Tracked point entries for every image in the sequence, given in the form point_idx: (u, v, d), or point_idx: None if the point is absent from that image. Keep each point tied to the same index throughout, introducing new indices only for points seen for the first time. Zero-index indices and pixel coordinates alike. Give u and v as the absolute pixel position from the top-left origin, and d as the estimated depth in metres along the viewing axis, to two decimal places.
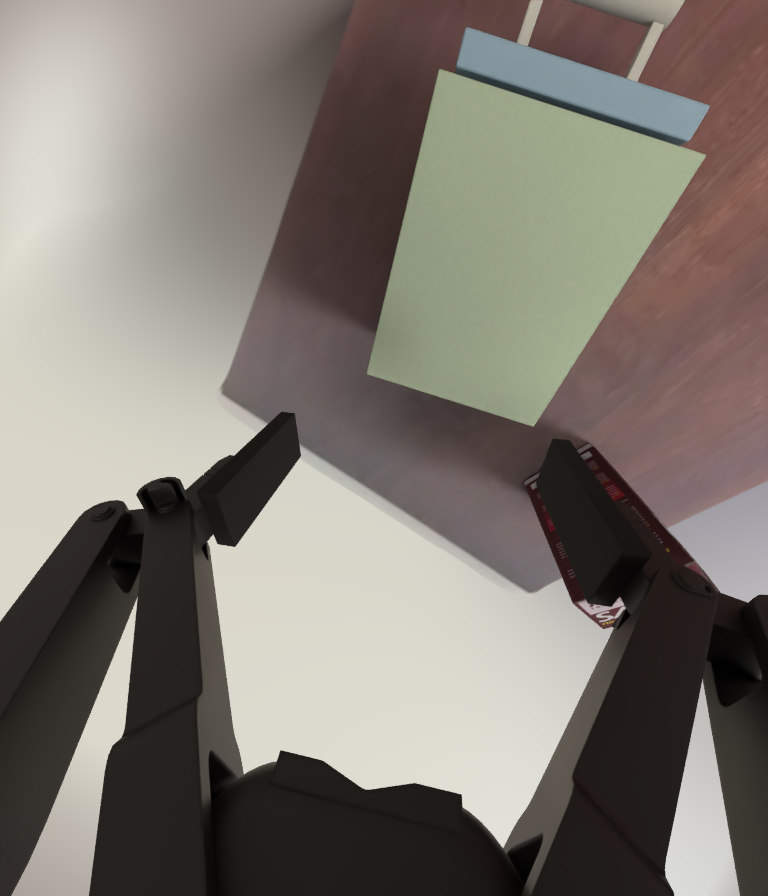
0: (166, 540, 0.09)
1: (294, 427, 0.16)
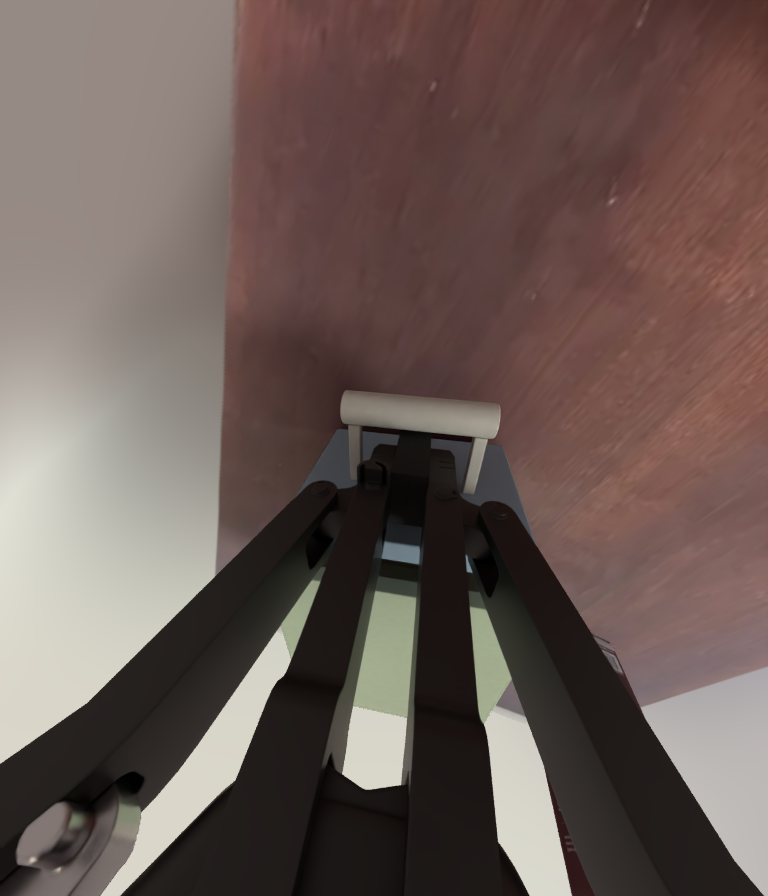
0: (362, 516, 0.10)
1: None
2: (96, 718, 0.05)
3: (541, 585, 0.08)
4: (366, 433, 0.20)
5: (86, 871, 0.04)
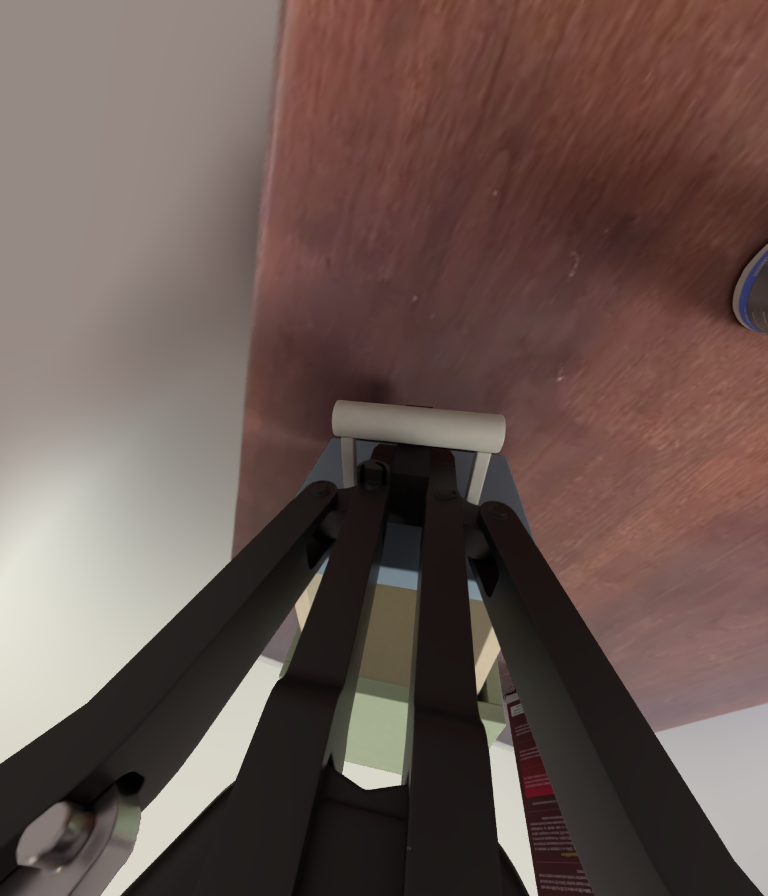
0: (362, 516, 0.10)
1: None
2: (96, 718, 0.05)
3: (541, 585, 0.08)
4: (362, 442, 0.19)
5: (86, 871, 0.04)
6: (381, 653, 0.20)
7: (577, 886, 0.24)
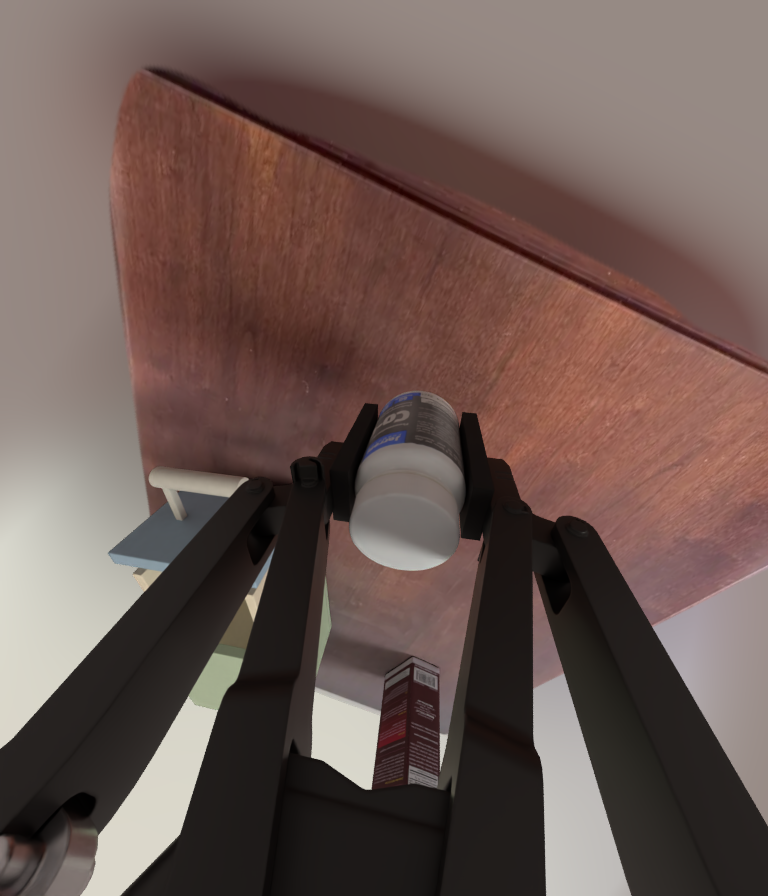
0: (301, 513, 0.10)
1: (376, 417, 0.17)
2: (27, 749, 0.05)
3: (621, 611, 0.07)
4: None
5: None
6: (230, 626, 0.29)
7: None
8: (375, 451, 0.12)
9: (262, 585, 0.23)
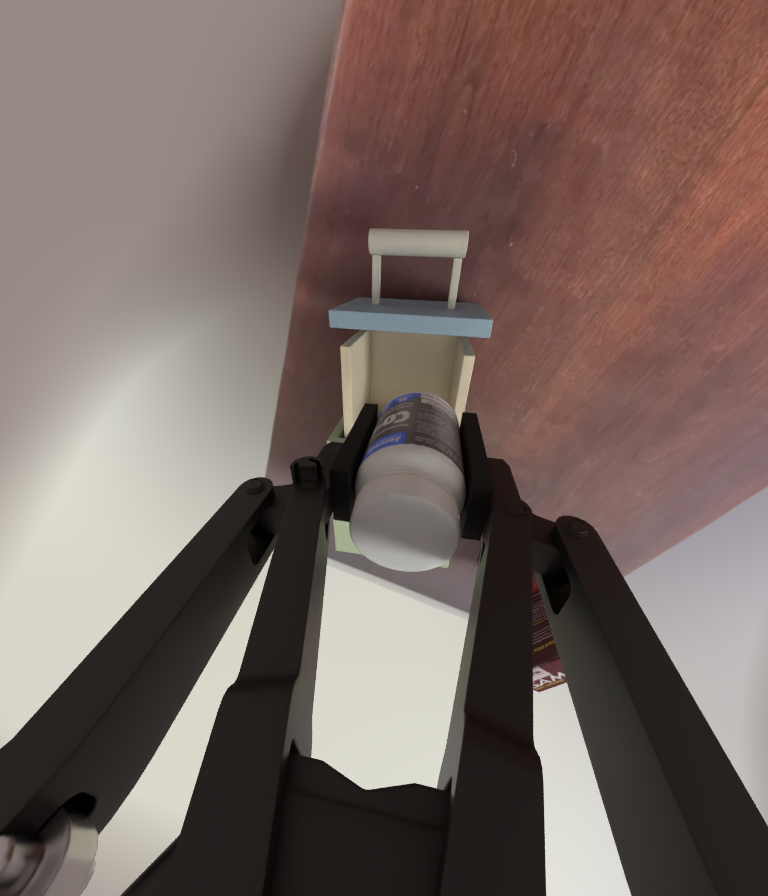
0: (301, 513, 0.10)
1: (376, 417, 0.17)
2: (27, 750, 0.05)
3: (622, 611, 0.07)
4: (380, 298, 0.28)
5: None
6: None
7: None
8: (375, 452, 0.12)
9: None
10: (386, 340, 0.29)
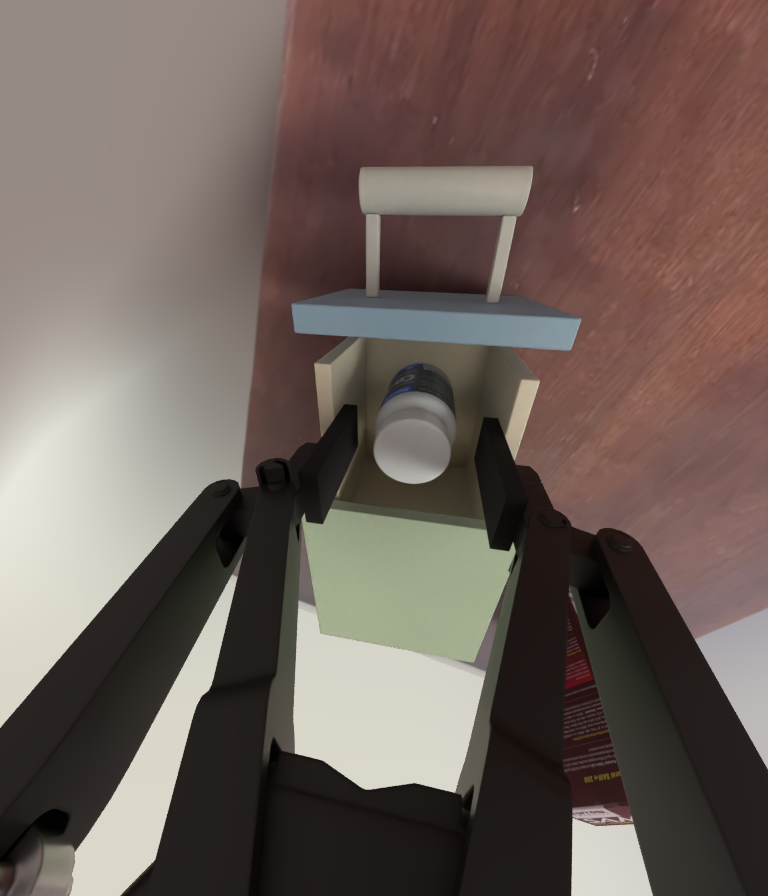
0: (270, 515, 0.10)
1: (356, 418, 0.17)
2: None
3: (667, 631, 0.07)
4: (379, 290, 0.20)
5: None
6: (397, 507, 0.20)
7: (589, 763, 0.24)
8: (391, 398, 0.16)
9: None
10: (388, 350, 0.21)
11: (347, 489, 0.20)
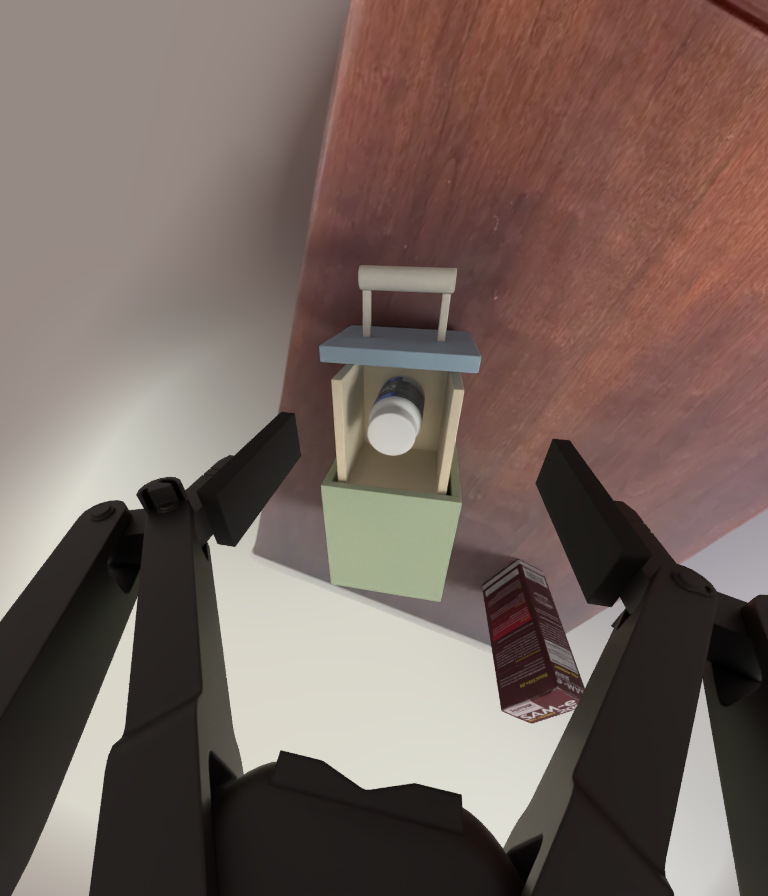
0: (166, 540, 0.09)
1: (294, 427, 0.16)
2: None
3: None
4: (372, 326, 0.29)
5: None
6: (385, 476, 0.29)
7: (524, 674, 0.33)
8: (378, 400, 0.25)
9: None
10: (379, 367, 0.30)
11: (350, 463, 0.29)
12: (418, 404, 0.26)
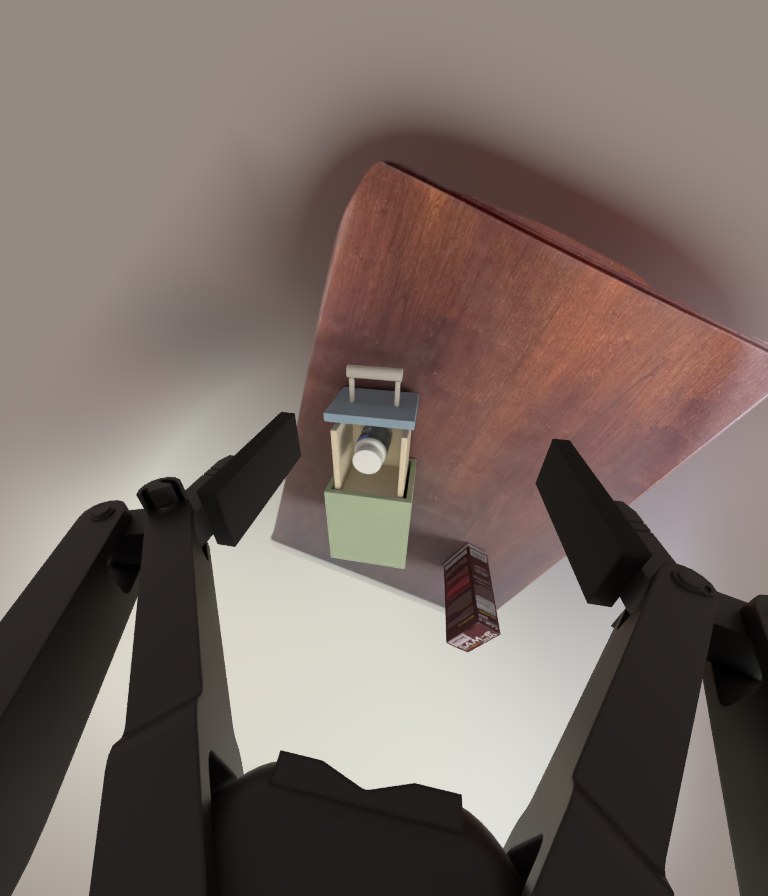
0: (166, 540, 0.09)
1: (294, 427, 0.16)
2: None
3: None
4: (357, 388, 0.44)
5: None
6: (366, 485, 0.45)
7: (461, 618, 0.49)
8: (360, 440, 0.41)
9: (408, 437, 0.38)
10: None
11: (343, 477, 0.44)
12: (384, 441, 0.41)
